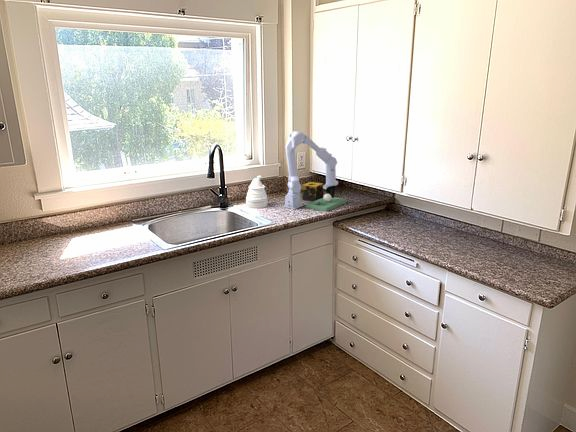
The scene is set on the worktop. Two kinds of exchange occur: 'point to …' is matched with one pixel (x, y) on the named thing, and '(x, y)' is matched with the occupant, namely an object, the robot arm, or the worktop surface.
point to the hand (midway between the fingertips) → (330, 198)
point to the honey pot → (256, 195)
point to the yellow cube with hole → (312, 191)
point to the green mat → (326, 204)
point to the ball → (327, 197)
